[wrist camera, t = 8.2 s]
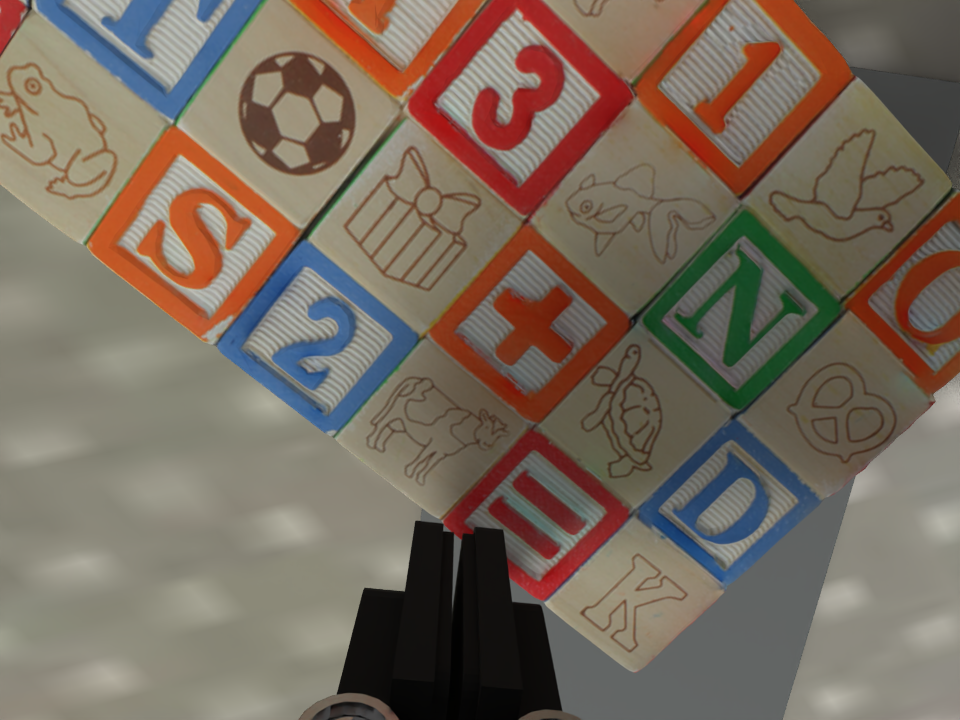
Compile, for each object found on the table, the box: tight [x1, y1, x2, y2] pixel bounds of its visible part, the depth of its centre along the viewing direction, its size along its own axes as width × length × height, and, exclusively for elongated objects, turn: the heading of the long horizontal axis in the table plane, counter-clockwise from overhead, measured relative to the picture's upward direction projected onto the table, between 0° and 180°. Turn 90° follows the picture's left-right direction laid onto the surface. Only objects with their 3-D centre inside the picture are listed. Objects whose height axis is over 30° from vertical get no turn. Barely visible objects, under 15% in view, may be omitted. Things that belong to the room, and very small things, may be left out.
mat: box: [421, 67, 960, 720], centre depth 20 cm, size 14×24×1 cm, turn 173°
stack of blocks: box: [0, 0, 960, 673], centre depth 15 cm, size 21×6×12 cm
